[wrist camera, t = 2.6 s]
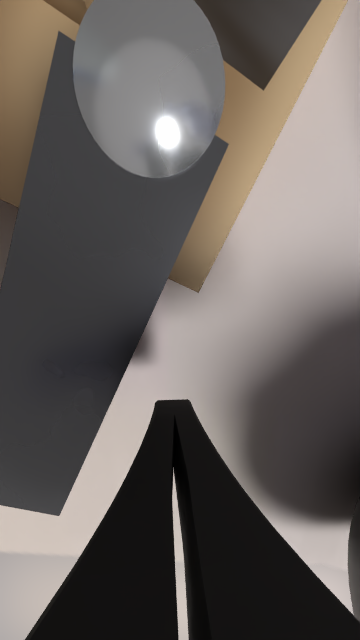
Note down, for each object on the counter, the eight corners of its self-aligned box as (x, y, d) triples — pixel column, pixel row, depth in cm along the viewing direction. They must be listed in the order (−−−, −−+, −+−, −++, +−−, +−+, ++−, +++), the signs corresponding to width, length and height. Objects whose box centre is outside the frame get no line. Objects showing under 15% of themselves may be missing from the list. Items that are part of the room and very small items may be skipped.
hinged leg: (124, 87, 6) (80, -91, 3) (218, 148, 6) (268, 59, 3) (22, 415, 9) (-50, 500, 6) (90, 434, 10) (57, 519, 7)
